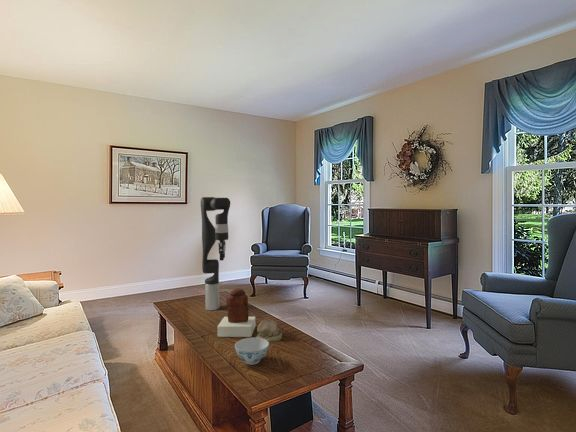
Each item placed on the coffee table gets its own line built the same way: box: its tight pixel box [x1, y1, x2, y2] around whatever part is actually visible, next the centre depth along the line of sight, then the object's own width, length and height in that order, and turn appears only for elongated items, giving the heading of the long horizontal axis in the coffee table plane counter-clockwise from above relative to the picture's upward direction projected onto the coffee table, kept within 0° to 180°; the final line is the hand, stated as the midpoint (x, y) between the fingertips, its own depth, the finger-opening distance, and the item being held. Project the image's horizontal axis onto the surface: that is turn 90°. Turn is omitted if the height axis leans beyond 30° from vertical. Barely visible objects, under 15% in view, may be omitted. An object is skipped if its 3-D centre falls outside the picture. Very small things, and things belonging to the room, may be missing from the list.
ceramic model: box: [255, 318, 283, 342], centre depth 176 cm, size 14×11×10 cm
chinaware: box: [234, 337, 270, 365], centre depth 149 cm, size 15×15×8 cm
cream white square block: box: [216, 316, 257, 338], centre depth 186 cm, size 16×18×6 cm
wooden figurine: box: [225, 288, 250, 322], centre depth 185 cm, size 12×6×18 cm, turn 97°
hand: (222, 259), depth 198 cm, fingers open, 8 cm apart
